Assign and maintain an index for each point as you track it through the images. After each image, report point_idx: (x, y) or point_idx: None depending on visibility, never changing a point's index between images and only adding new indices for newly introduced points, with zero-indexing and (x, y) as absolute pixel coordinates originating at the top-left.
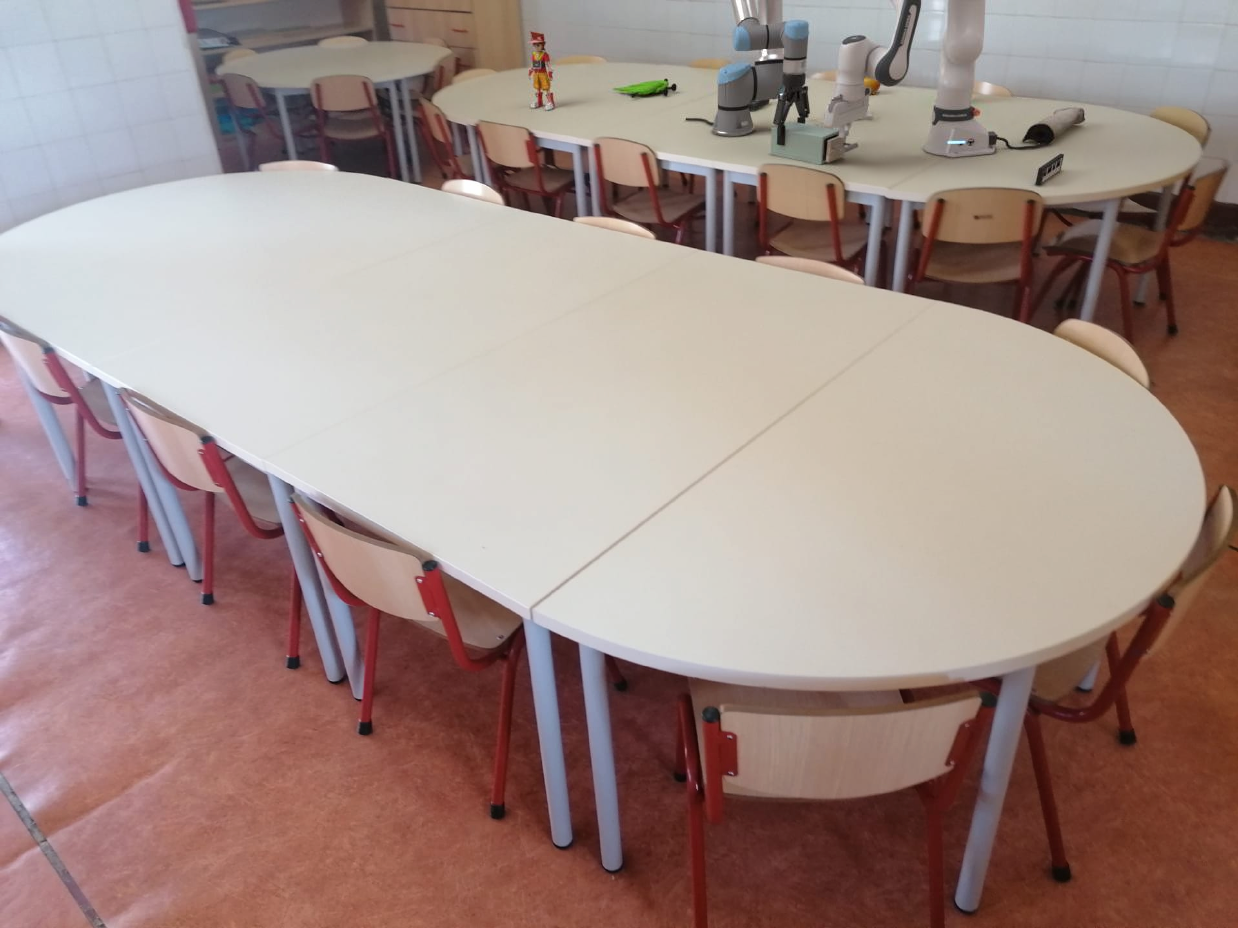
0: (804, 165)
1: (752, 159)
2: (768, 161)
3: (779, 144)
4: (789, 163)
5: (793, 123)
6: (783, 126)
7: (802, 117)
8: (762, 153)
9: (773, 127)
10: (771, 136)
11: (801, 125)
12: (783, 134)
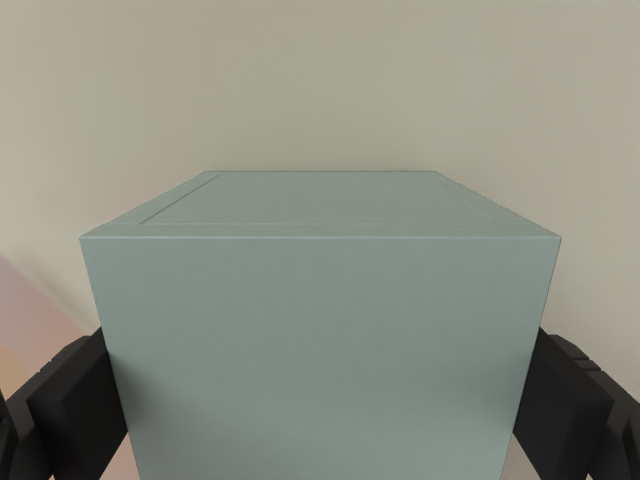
0: None
1: (22, 131)
2: (80, 254)
3: None
4: None
5: (460, 346)
6: (60, 474)
7: (600, 463)
8: (189, 95)
9: (113, 245)
10: (142, 205)
11: (418, 458)
12: None
